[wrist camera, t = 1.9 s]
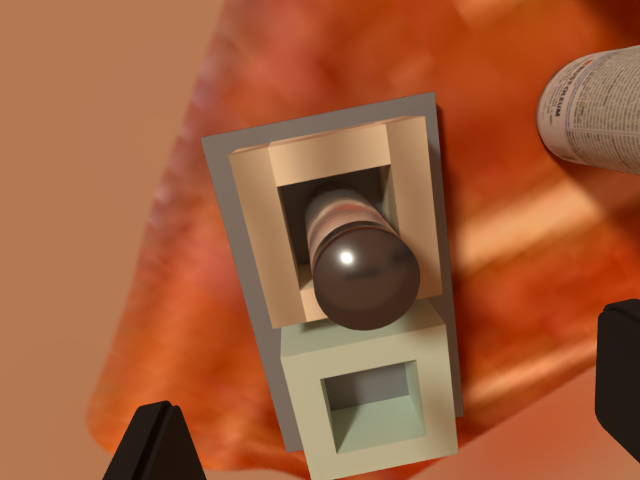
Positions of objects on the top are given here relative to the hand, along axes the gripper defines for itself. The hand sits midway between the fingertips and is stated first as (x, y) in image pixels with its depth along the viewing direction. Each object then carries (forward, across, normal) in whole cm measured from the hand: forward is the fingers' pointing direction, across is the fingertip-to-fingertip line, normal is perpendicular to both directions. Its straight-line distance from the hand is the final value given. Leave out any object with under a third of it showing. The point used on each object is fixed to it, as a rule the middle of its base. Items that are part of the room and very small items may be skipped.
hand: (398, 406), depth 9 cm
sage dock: (+17, -1, +12) cm, 21 cm away
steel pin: (+17, -1, 0) cm, 17 cm away
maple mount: (+17, -1, 0) cm, 17 cm away
